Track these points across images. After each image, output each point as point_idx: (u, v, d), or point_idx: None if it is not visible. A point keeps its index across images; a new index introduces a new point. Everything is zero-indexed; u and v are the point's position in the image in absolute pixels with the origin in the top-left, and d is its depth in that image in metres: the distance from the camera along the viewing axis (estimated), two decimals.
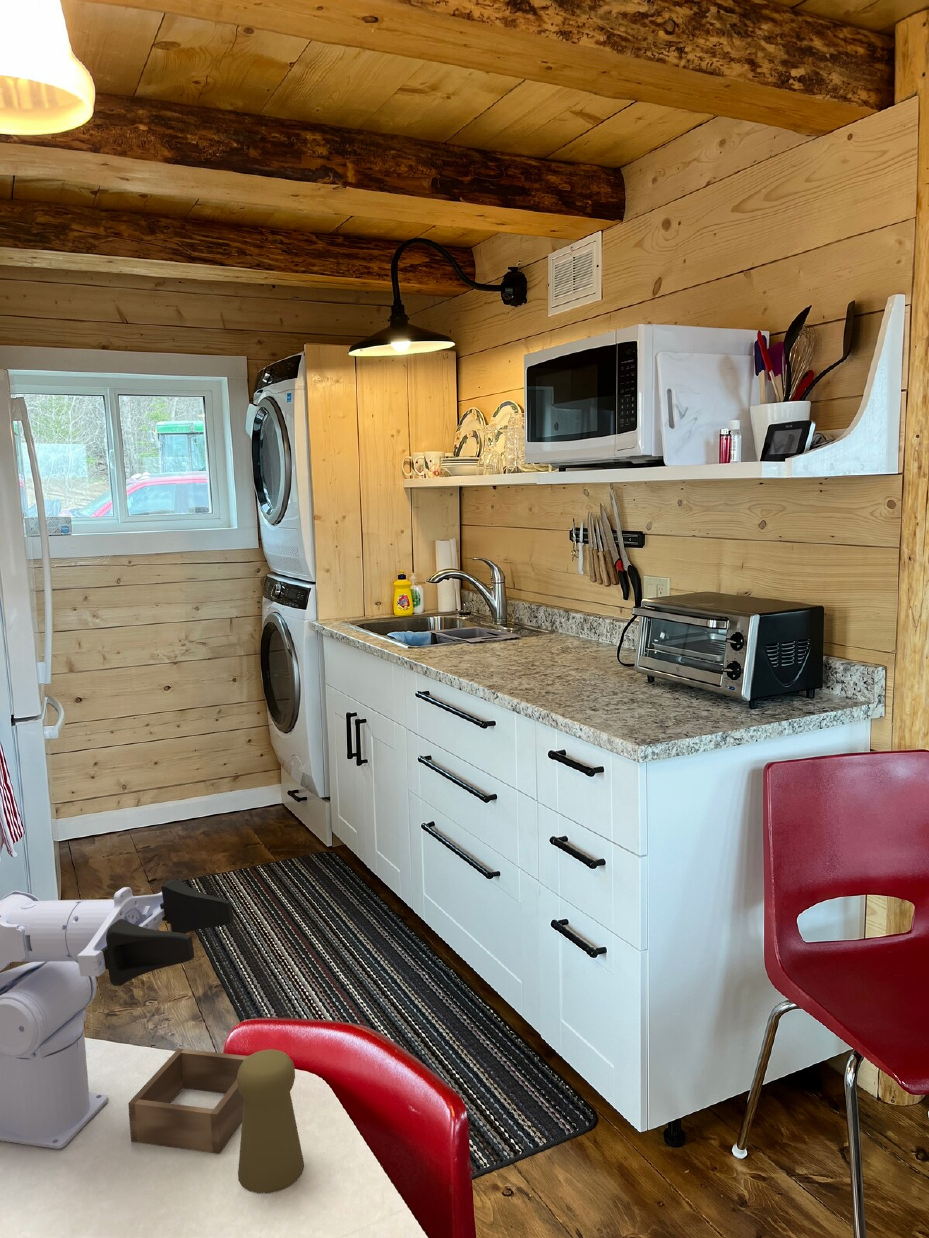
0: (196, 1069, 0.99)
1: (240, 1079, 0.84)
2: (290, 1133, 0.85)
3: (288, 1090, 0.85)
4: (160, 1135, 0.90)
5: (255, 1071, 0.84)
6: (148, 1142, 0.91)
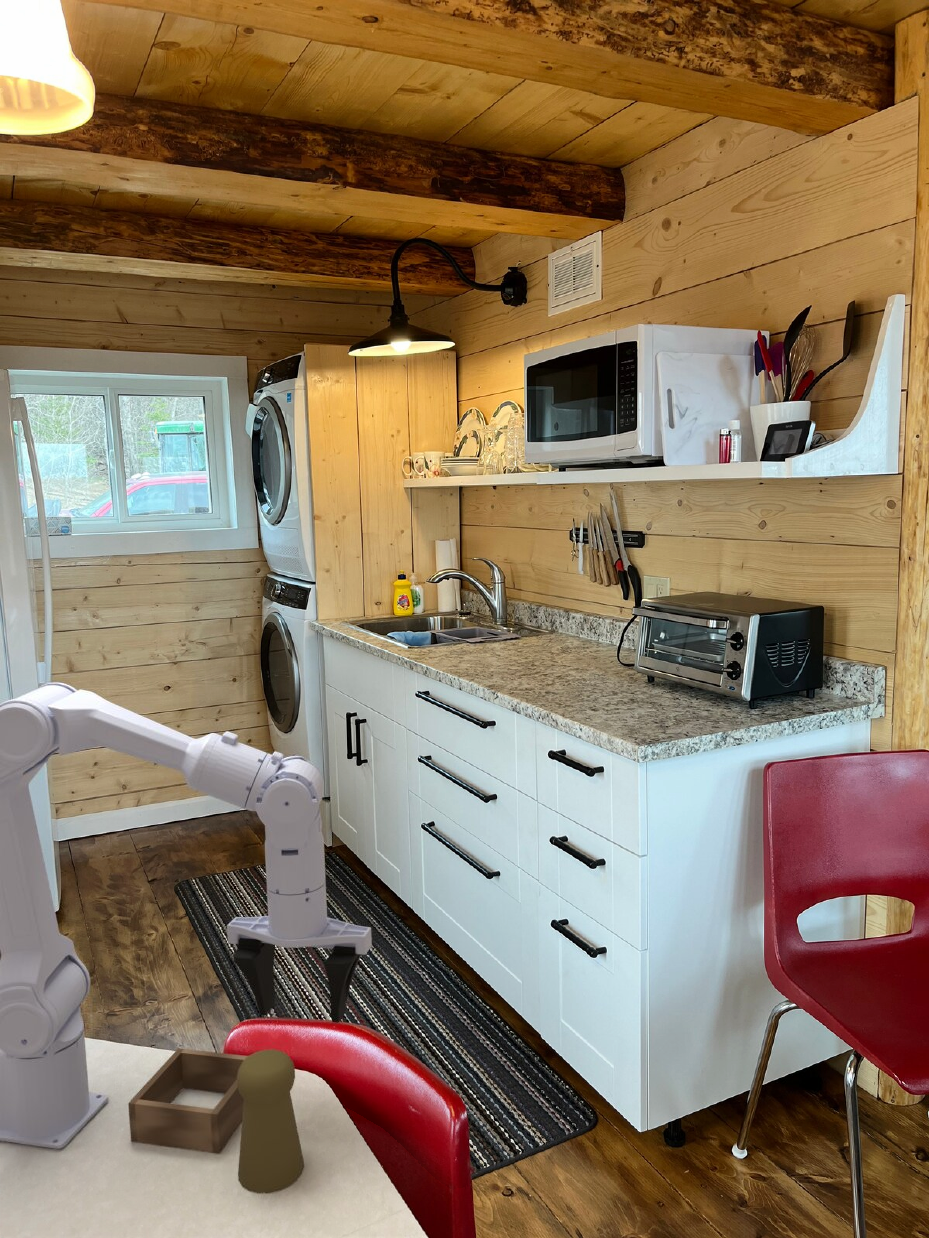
0: (196, 1069, 0.99)
1: (240, 1079, 0.84)
2: (290, 1133, 0.85)
3: (288, 1090, 0.85)
4: (160, 1135, 0.90)
5: (255, 1071, 0.84)
6: (148, 1142, 0.91)
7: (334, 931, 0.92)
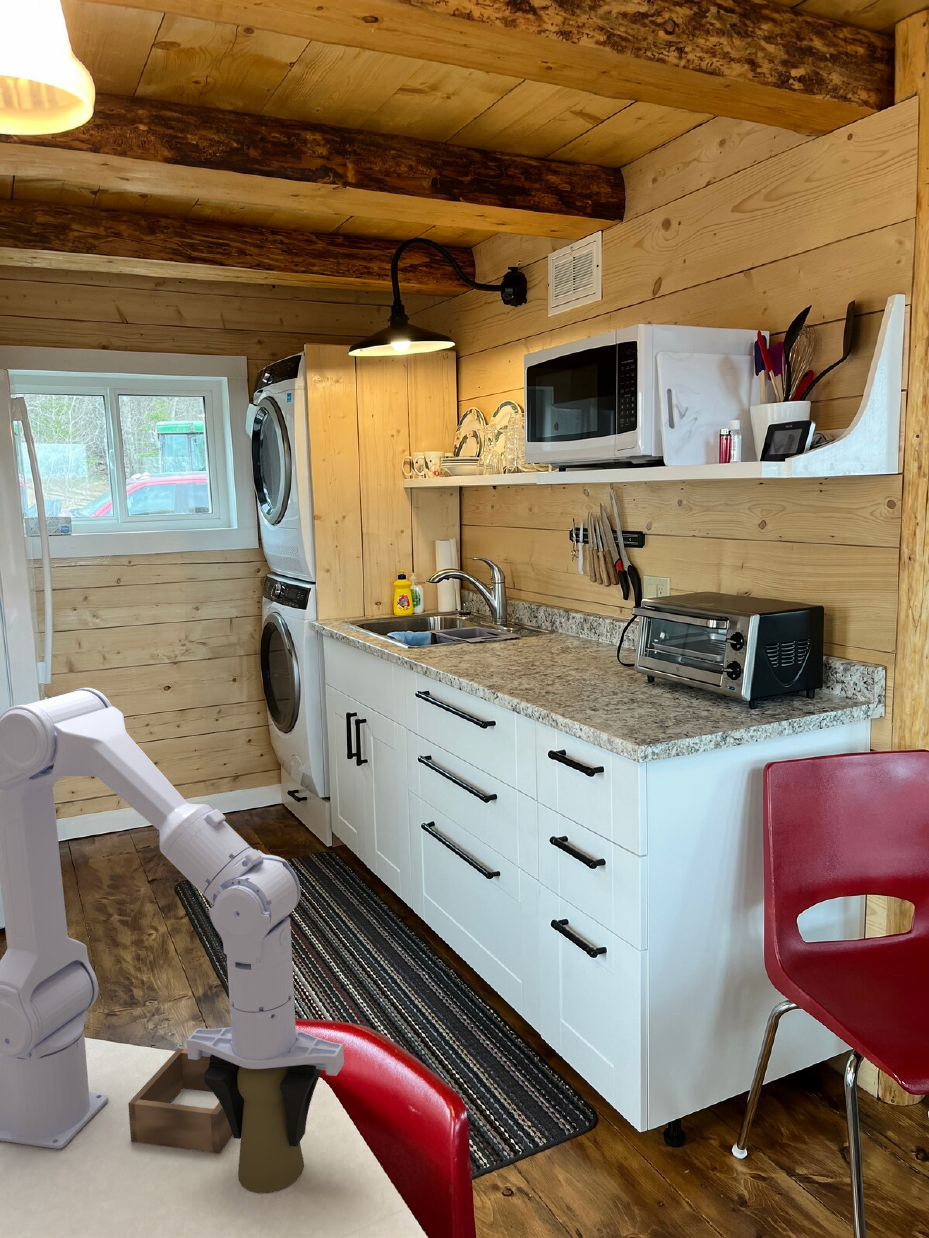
0: (196, 1069, 0.99)
1: (240, 1079, 0.84)
2: None
3: None
4: (160, 1135, 0.90)
5: (255, 1071, 0.84)
6: (148, 1142, 0.91)
7: (303, 1048, 0.84)
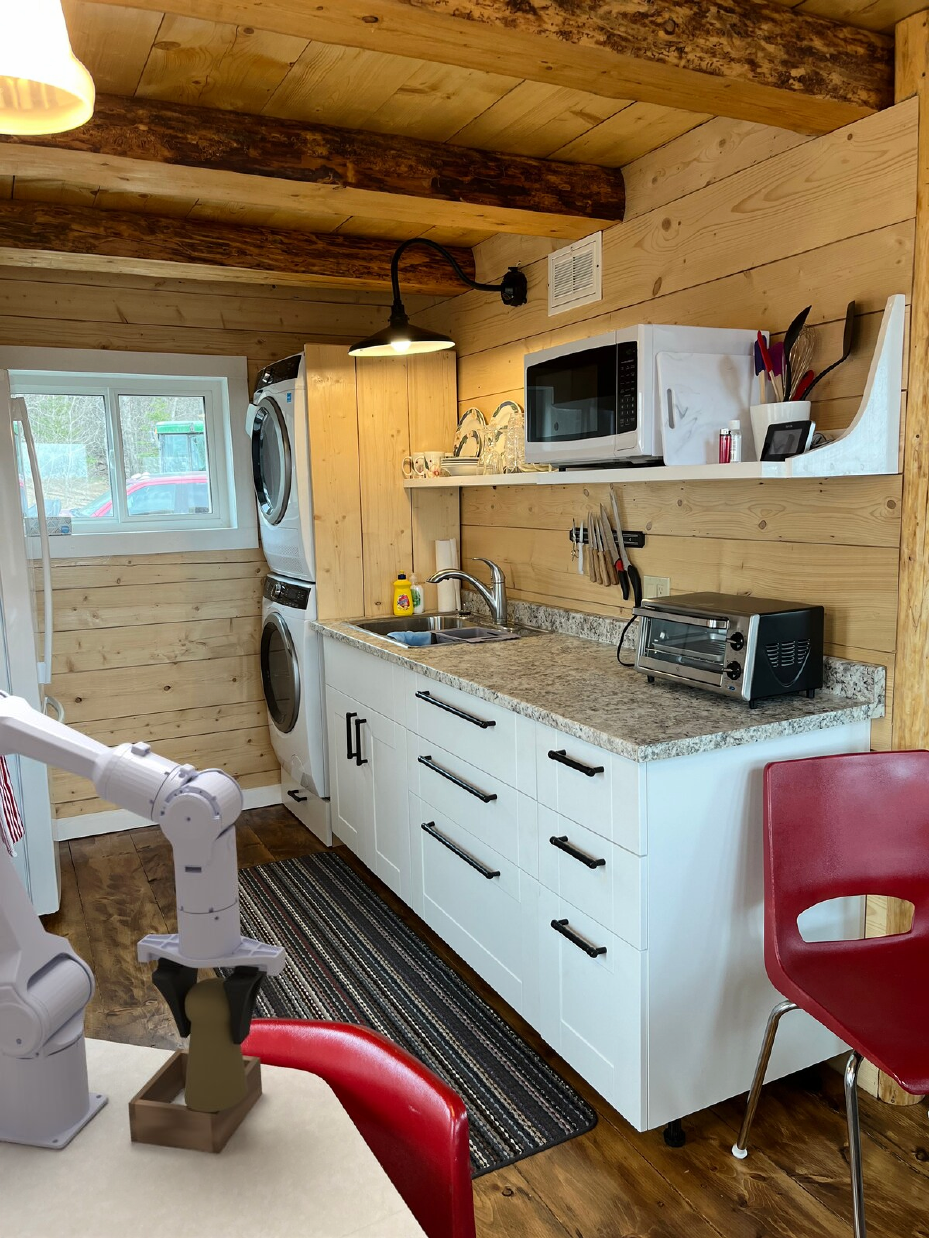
0: None
1: (188, 1003, 0.88)
2: (235, 1054, 0.90)
3: None
4: (160, 1135, 0.90)
5: (203, 995, 0.88)
6: (148, 1142, 0.91)
7: (246, 951, 0.89)
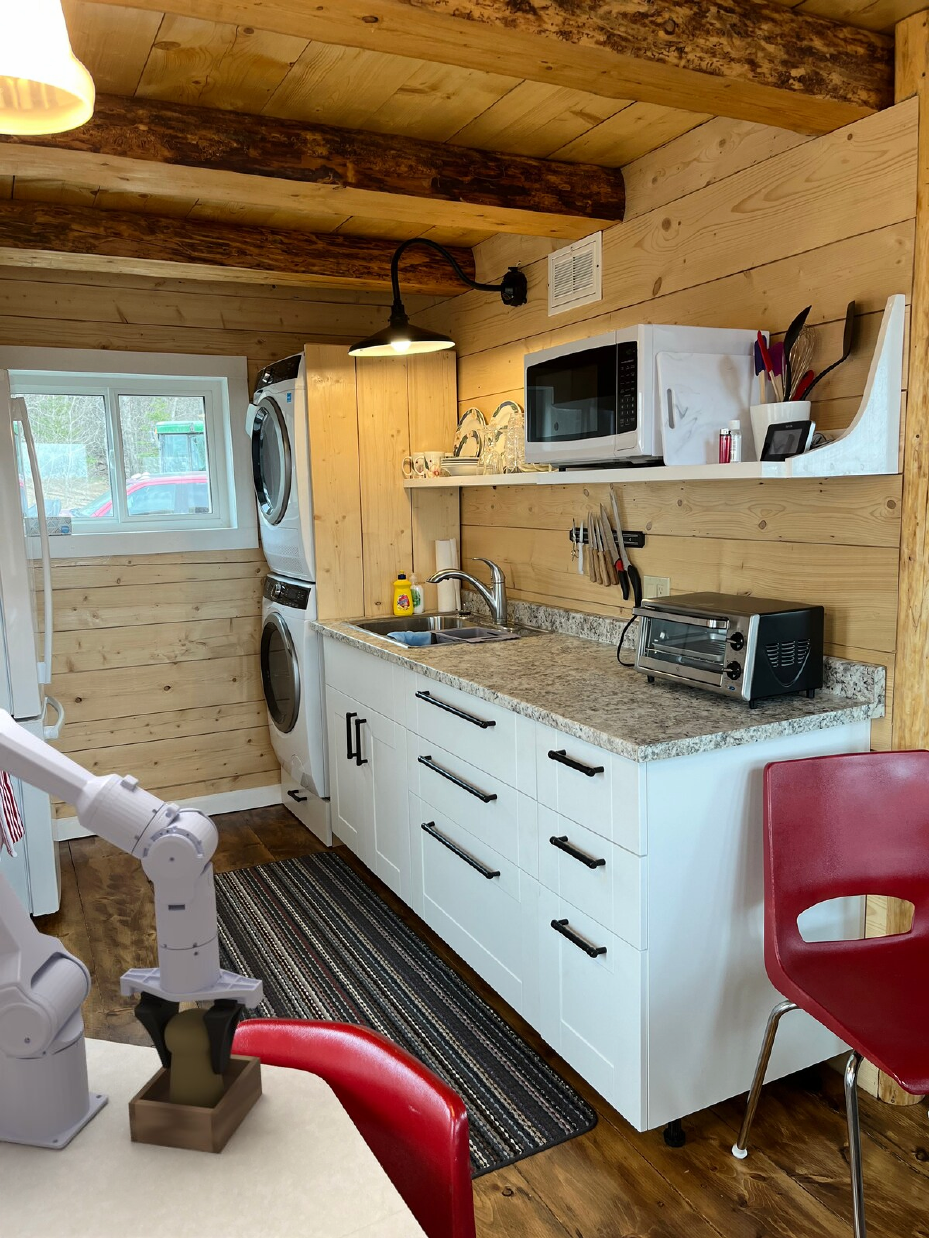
0: None
1: (168, 1035, 0.91)
2: (216, 1081, 0.93)
3: None
4: (160, 1135, 0.90)
5: (182, 1026, 0.91)
6: (148, 1142, 0.91)
7: (225, 984, 0.92)
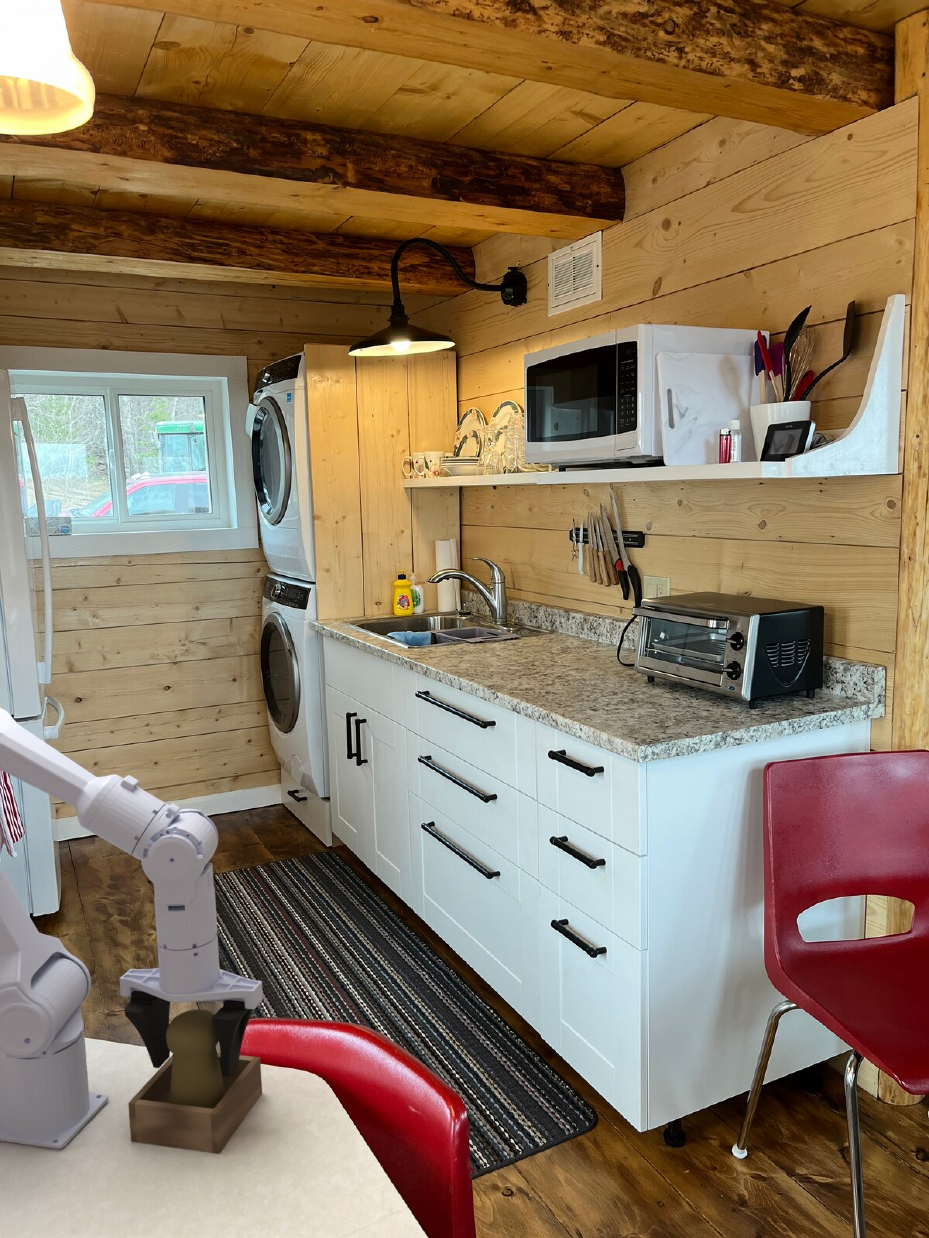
0: None
1: (170, 1036, 0.91)
2: (217, 1083, 0.93)
3: (215, 1044, 0.92)
4: (160, 1135, 0.90)
5: (184, 1028, 0.91)
6: (148, 1142, 0.91)
7: (225, 985, 0.92)
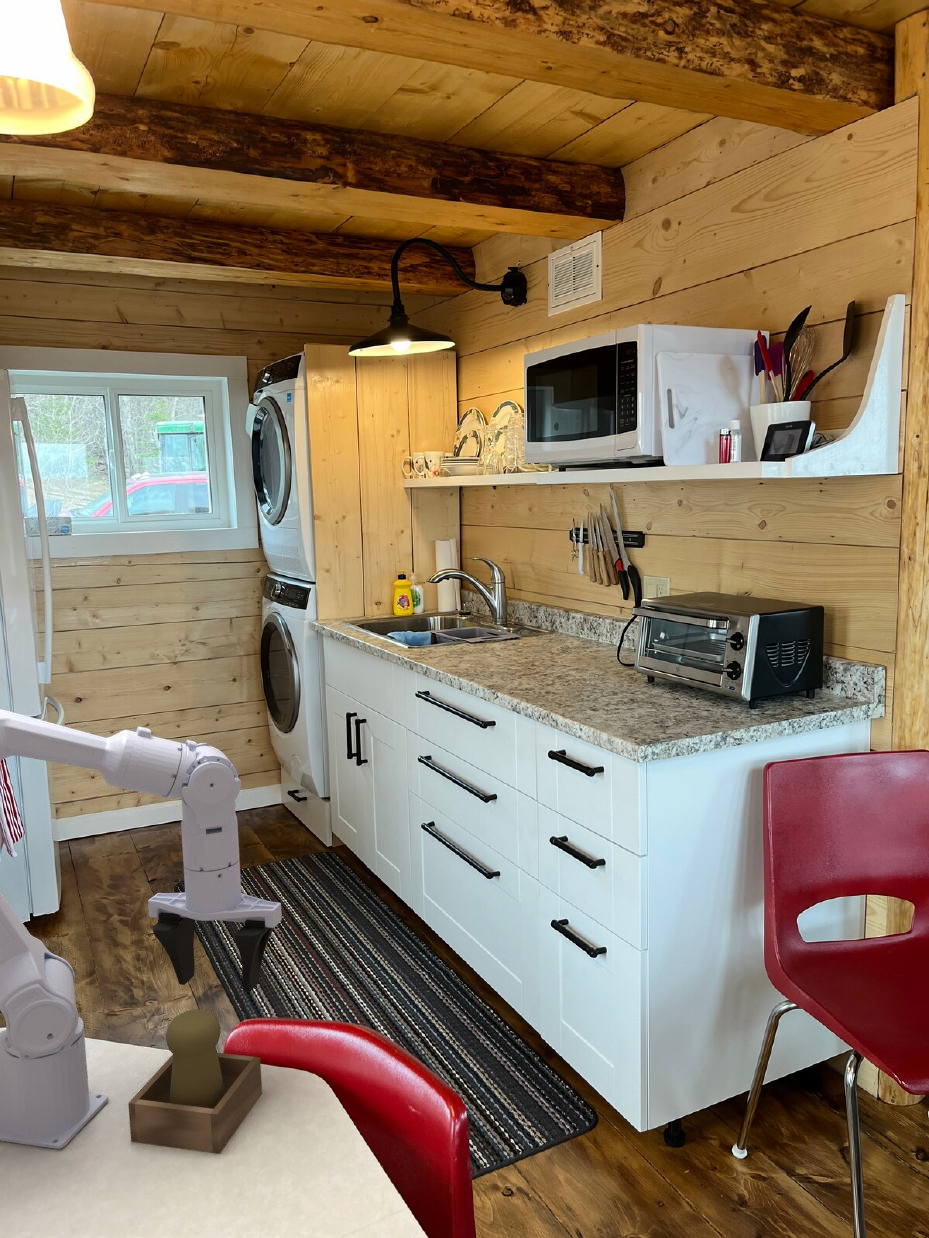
0: None
1: (170, 1036, 0.91)
2: (217, 1083, 0.93)
3: (215, 1044, 0.92)
4: (160, 1135, 0.90)
5: (184, 1028, 0.91)
6: (148, 1142, 0.91)
7: (246, 906, 0.98)
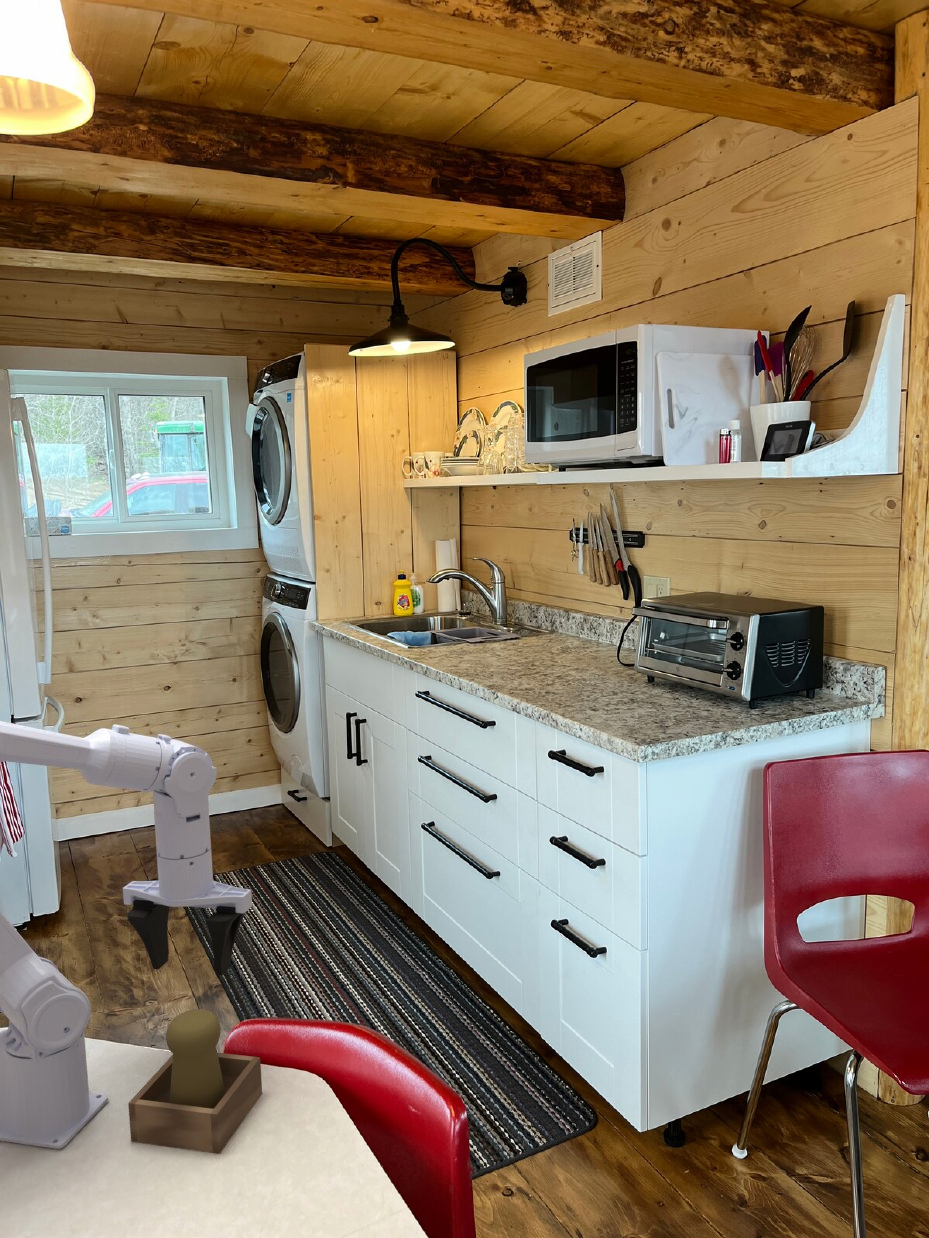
0: None
1: (170, 1036, 0.91)
2: (217, 1083, 0.93)
3: (215, 1044, 0.92)
4: (160, 1135, 0.90)
5: (184, 1028, 0.91)
6: (148, 1142, 0.91)
7: (217, 893, 1.02)
